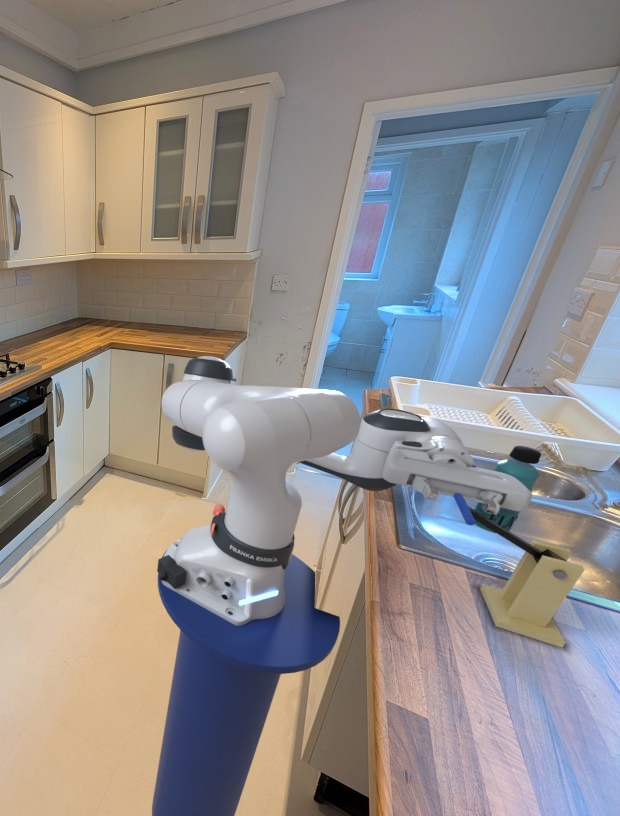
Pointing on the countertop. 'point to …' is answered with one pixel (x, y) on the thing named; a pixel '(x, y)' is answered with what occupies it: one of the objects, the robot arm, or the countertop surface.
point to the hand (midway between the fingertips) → (461, 502)
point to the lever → (500, 530)
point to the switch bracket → (534, 594)
